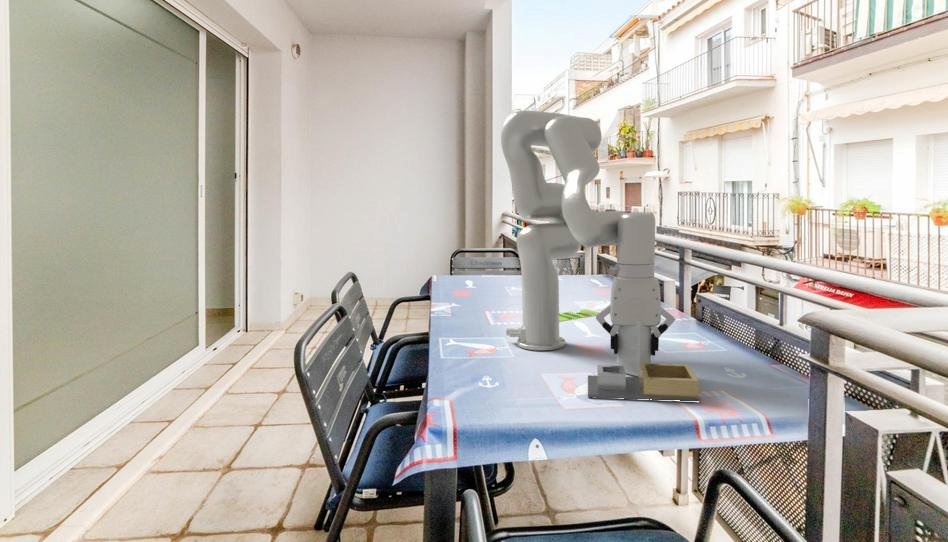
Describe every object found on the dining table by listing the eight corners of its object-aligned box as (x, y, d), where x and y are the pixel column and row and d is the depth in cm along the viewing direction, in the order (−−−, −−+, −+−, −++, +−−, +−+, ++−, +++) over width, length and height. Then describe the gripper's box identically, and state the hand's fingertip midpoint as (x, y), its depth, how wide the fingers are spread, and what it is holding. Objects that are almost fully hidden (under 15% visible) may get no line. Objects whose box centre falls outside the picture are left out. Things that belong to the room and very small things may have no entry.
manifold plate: (587, 398, 100) (587, 377, 99) (587, 379, 111) (587, 360, 110) (700, 403, 96) (700, 382, 95) (688, 382, 106) (689, 363, 106)
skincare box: (651, 373, 113) (653, 318, 111) (640, 377, 110) (641, 322, 108) (627, 366, 117) (628, 314, 116) (615, 370, 115) (616, 317, 113)
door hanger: (585, 310, 181) (525, 320, 169) (585, 308, 181) (525, 318, 169) (604, 315, 173) (543, 325, 161) (604, 313, 173) (543, 324, 161)
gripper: (593, 273, 109) (592, 356, 111) (682, 274, 105) (679, 360, 108) (592, 268, 116) (592, 346, 119) (676, 269, 112) (674, 349, 115)
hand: (634, 352), depth 113 cm, fingers closed on skincare box, 7 cm apart
